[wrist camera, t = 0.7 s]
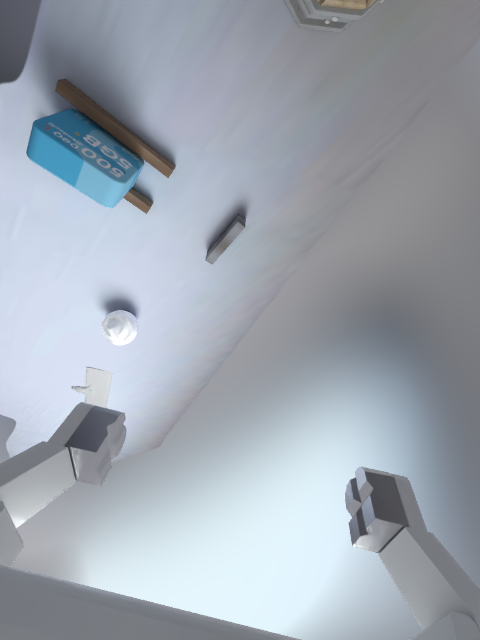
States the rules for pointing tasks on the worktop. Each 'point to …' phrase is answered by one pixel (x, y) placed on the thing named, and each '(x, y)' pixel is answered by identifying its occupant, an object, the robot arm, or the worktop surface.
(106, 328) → the white ball
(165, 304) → the worktop surface
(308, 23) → the tankard
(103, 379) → the white flat panel
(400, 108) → the worktop surface
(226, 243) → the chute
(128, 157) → the data package
